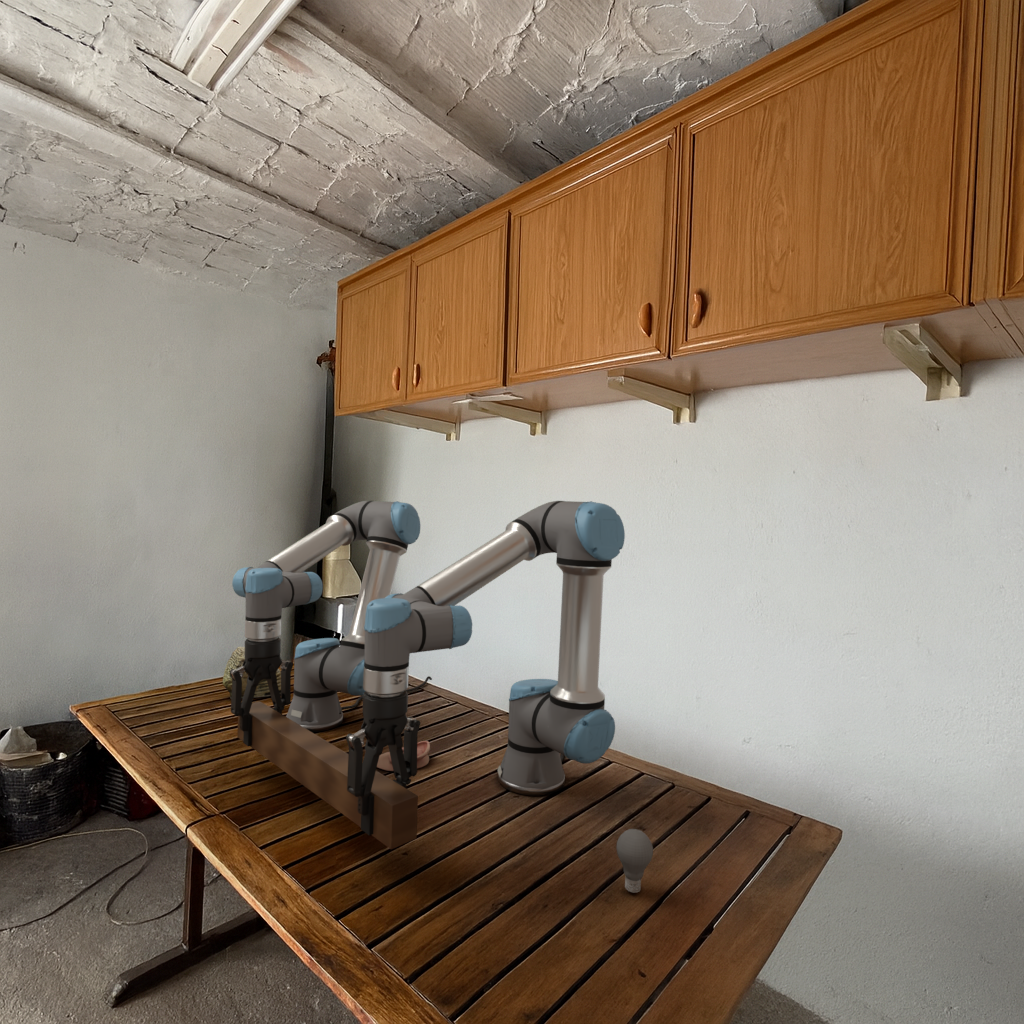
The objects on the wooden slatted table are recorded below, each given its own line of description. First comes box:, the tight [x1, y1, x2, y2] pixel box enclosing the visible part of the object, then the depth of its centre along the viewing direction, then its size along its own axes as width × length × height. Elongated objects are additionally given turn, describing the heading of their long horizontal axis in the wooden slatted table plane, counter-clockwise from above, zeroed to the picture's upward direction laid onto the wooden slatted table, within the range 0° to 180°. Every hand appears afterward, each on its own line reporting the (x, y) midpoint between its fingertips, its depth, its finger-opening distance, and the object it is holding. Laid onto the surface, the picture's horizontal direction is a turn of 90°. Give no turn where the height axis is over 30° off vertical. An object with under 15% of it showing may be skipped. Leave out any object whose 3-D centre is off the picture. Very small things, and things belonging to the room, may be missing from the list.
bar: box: [236, 701, 419, 850], centre depth 125 cm, size 61×5×7 cm, turn 45°
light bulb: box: [615, 828, 654, 894], centre depth 106 cm, size 6×6×10 cm
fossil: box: [222, 646, 281, 699], centre depth 198 cm, size 9×18×15 cm, turn 132°
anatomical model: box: [377, 740, 431, 772], centre depth 153 cm, size 13×4×12 cm
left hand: (260, 740), depth 142 cm, fingers closed on bar, 5 cm apart
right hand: (381, 825), depth 108 cm, fingers closed on bar, 5 cm apart
